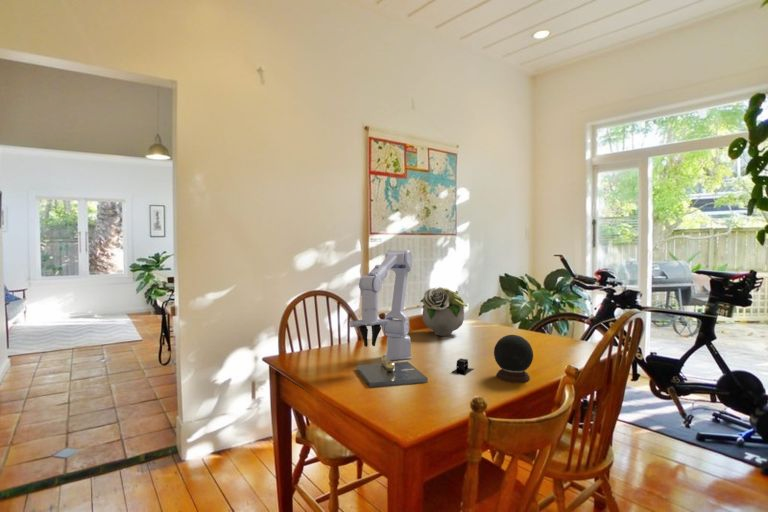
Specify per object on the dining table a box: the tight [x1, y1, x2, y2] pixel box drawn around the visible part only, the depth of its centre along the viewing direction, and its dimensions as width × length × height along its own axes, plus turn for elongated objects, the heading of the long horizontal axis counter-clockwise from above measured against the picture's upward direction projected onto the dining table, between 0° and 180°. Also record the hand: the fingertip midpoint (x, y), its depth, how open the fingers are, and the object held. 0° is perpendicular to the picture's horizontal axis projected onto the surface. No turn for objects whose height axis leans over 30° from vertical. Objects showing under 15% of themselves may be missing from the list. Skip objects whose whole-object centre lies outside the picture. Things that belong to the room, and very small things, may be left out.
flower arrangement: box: [420, 287, 469, 337], centre depth 214 cm, size 25×25×24 cm
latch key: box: [380, 355, 395, 372], centre depth 151 cm, size 11×3×2 cm, turn 16°
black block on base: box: [450, 358, 475, 376], centre depth 153 cm, size 12×7×5 cm, turn 147°
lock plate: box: [356, 361, 429, 388], centre depth 147 cm, size 20×20×2 cm
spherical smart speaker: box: [493, 334, 534, 384], centre depth 146 cm, size 13×13×15 cm
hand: (369, 345), depth 151 cm, fingers open, 2 cm apart
